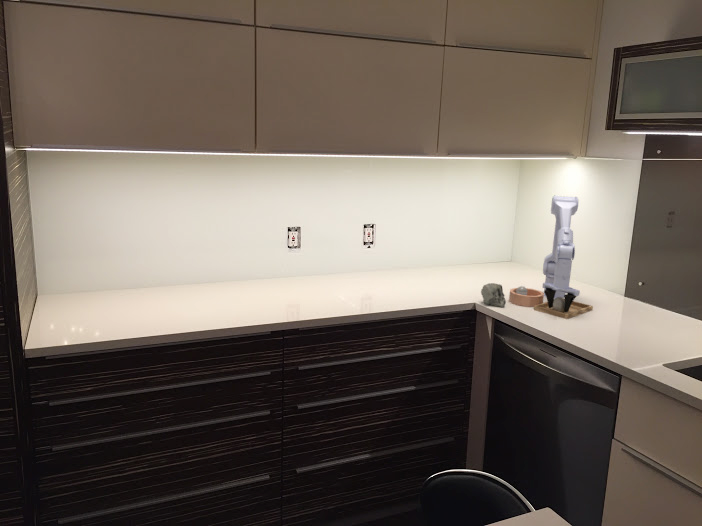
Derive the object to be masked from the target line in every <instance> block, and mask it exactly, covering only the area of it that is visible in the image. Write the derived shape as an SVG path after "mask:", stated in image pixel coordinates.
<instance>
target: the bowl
mask: <svg viewBox="0 0 702 526" xmlns="http://www.w3.org/2000/svg"><path fill="white" fill-rule="evenodd" d="M517 288H518V287H514V288H510V290H509V297H508V302H509V303H511V304H513V305H516V306H521V307H526V308H534V306H535V305H539V304H542V303H544V297H545V296H544V291H543V292H542V291H541V290H538V289H534V288H528V287H525V288H526V289H527V295H521V294H517V293H516V290H517Z"/></svg>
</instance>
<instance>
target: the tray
mask: <svg viewBox="0 0 702 526" xmlns="http://www.w3.org/2000/svg"><path fill="white" fill-rule="evenodd" d="M563 299H564V300H565V298H563ZM552 308H553V307H552ZM552 308H549V307H548V301H546V302H543V303H542V304H539V305H535V306H534V307H533V311H537V312H540V313H544V314H547V315H550V316H555V317H559V318H562V319H565V320H568V319H571V318H573V317H577V316H580V315H582V314H586V313H588V312H591V311H593V309H594V306H593V305H591V304H586V303H582V302H578V301H575V300H573V302H572V304H571V306H570V308H569V311H568V312H564V313H561V312H557V311H554V310H552Z"/></svg>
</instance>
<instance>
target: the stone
mask: <svg viewBox="0 0 702 526" xmlns="http://www.w3.org/2000/svg"><path fill="white" fill-rule="evenodd" d="M480 293H481V296H482V299H483V303H484V304H485V305H489V304H490V306H491V305H492V306H496V307H500V308H504V307H505V306H506V298H505V294H504V292H503V285H502V284H499V283H495V282H494V283H493V282H492V283H486V284H483V286H482V288H481V289H480Z"/></svg>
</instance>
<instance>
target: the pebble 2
mask: <svg viewBox="0 0 702 526" xmlns="http://www.w3.org/2000/svg"><path fill="white" fill-rule="evenodd" d="M564 299H565V298H564V297H562V298H561V297H557V298H555V299H554V301H553V308H552V310H554V311H557V312H561V313H564V306H565V300H564Z"/></svg>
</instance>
